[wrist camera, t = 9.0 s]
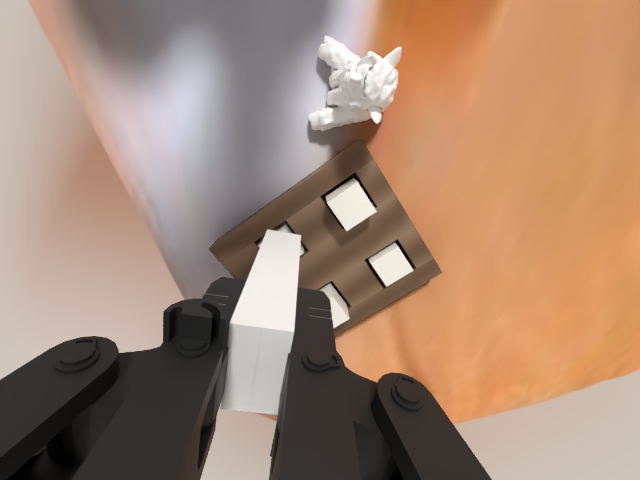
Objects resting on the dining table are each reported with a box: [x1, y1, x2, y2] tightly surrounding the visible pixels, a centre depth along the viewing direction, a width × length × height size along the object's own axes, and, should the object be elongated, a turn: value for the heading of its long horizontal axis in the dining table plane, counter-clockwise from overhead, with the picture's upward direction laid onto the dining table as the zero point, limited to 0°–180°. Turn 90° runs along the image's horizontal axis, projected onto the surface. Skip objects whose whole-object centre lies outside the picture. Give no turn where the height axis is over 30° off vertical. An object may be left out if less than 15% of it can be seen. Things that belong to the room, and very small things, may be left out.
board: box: [209, 140, 442, 336], centre depth 39 cm, size 20×22×4 cm
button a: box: [258, 221, 304, 256], centre depth 38 cm, size 4×4×4 cm
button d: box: [368, 242, 414, 287], centre depth 39 cm, size 4×4×4 cm
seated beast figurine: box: [309, 35, 402, 131], centre depth 29 cm, size 10×9×12 cm
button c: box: [326, 178, 377, 231], centre depth 34 cm, size 4×4×4 cm
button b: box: [319, 283, 350, 328], centre depth 39 cm, size 4×4×4 cm
